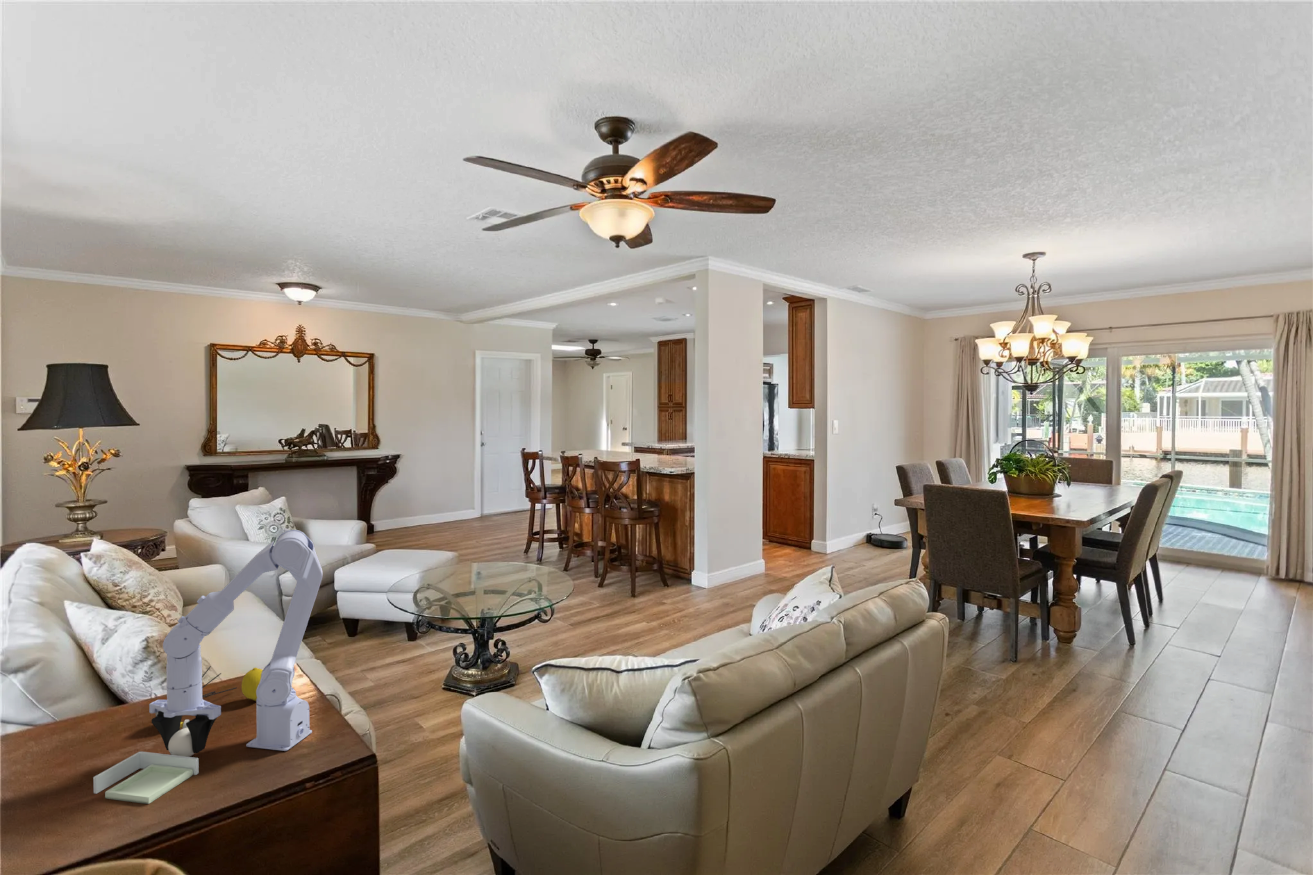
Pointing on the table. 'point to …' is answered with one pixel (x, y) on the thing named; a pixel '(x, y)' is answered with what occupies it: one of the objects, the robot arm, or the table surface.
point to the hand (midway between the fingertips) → (185, 749)
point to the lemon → (251, 683)
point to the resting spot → (149, 784)
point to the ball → (181, 743)
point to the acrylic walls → (142, 762)
